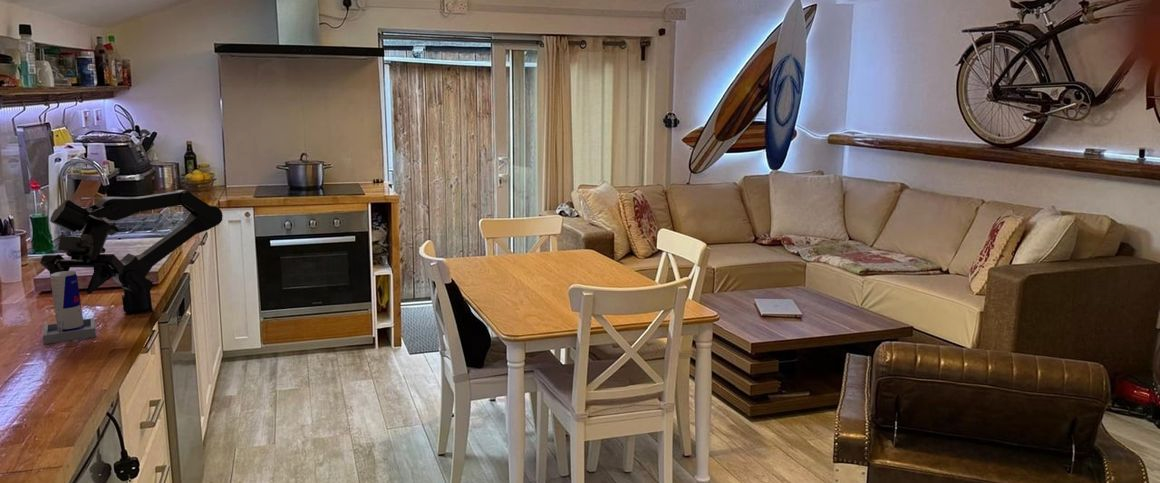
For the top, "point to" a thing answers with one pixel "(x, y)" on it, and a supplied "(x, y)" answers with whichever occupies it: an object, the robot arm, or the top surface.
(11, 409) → the top surface
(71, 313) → the beverage can
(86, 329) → the tray
